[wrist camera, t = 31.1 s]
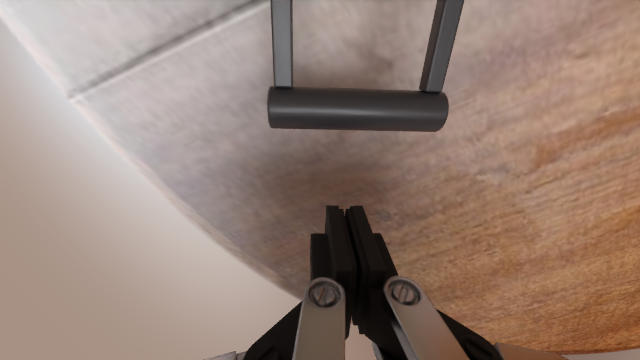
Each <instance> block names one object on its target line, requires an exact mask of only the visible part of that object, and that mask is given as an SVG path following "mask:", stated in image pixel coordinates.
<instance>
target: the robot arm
mask: <svg viewBox="0 0 640 360" xmlns="http://www.w3.org/2000/svg"><path fill="white" fill-rule="evenodd" d="M310 267H311V281H310V282H309V283H308V285H307V286H306V288H305V291H304V296H303V301H301V302H300V303H299V304H298V305H297V306H296V307H295V308H293V309H292V310H291V311H290V312H289V313H288V314H287V315H286V316H284V317H283V318H282V319H281V320H280V321H279V322H278V323H277V324H275V325H274V326H273V327H272V328H271V329H270V330H269V331H267V332H266V333H265V334H264V335H263V336H262V337H261V338H260V339H258V340H257V341H256V342H255V343H254V344H253V345H252V346H251V347H250V348H249V349H248V351H246V352H242V353H239V354H236V351H234V352H230V353H227V354H223V355H219V356H216V357H212V358H209V359H205V360H345V340H346V339H347V338H348V336H349V330H350V323H351V316H352V321H353V325H358V329H359V334H365V336H366V337H368V338H369V339H370V340H371V341H372V346H373V350H374V353H375V356H376V358H377V360H568V359H566V358H565V357H563V356H560V355H557V354H554V353H549V352H544V351H539V350H534V349H529V348H524V347H519V346H514V345H509V344H503V343H498V342H496V343H495V344H494V345H492V344H491V343H490V342H488V341H487V340H486V339H484V338H483V337H481V336H480V335H478V334H477V333H475V332H473V331H472V330H470V329H468V328H467V327H465V326H464V325H462V324H460V323H459V322H457V321H455V320H454V319H452V318H450V317H449V316H447V315H446V314H444V313H442V312H441V311H439V310H437V309H436V308H435V307H434V305H433V304H432V302H431V301H430V300H429V298H428V297H427V295H426V294H425V292H424V291H423V289H422V288H421V287H420V286H419V284H417V283H416V282H415V281H413V280H412V279H409V278H407V277H403V276H398V273H397V271H396V268H395V266H394V264H393V261H392V259H391V256H390V254H389V252H388V249H387V247H386V244H385V242H384V240H383V237H382V235H381V234H380V233H372V230H371V227H370V225H369V222H368V219H367V217H366V214H365V211H364V209H363V206H350V209H346V211H345V215H344V211H343V209H339V206H326V221H325V234H311V243H310Z"/></svg>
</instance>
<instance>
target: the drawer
mask: <svg viewBox="0 0 640 360" xmlns="http://www.w3.org/2000/svg"><path fill="white" fill-rule="evenodd" d="M463 3H464V0H437V4H436V9H435V14H434V19H433V24H432V29H431V33H430V38H429V43H428V48H427V53H426V57H425V62H424V67H423V72H422V77H421V82H420V86H419V89H420V90H422V91H411V90H380V89H350V88H320V87H292V86H293V0H271V24H272V48H273V72H274V86H270V87H269V90H268V99H267V108H268V121H269V125H270V127H271V128H281V129H326V130H372V131H417V132H436V131H439V130H440V129H441V128H442V127H443V126H444V124H445V122H446V119H447V115H448V109H449V104H448V99H447V96H446V95H445V94H444V93H443V92H441V91H442V88H443V84H444V80H445V76H446V72H447V68H448V64H449V60H450V56H451V52H452V48H453V44H454V40H455V36H456V32H457V28H458V24H459V20H460V16H461V12H462V7H463Z"/></svg>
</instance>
